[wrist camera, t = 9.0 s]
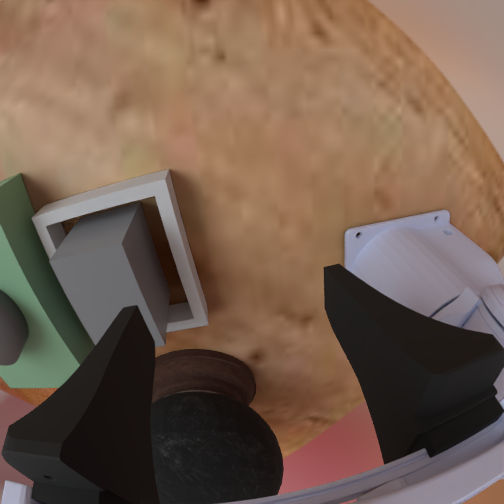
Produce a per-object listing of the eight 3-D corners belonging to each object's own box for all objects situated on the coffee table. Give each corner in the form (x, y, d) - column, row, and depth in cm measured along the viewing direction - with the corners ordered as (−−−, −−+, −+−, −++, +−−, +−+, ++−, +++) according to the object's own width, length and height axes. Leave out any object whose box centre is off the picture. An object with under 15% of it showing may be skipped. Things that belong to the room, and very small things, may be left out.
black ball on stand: (285, 395, 31) (320, 526, 18) (181, 430, 33) (188, 548, 20) (220, 318, 25) (245, 512, 12) (100, 371, 26) (77, 521, 13)
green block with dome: (158, 126, 17) (138, 146, 12) (215, 332, 25) (220, 392, 20) (-59, 212, 16) (-102, 249, 11) (23, 357, 24) (4, 404, 19)
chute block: (140, 201, 19) (121, 243, 14) (170, 290, 23) (165, 345, 18) (80, 217, 19) (49, 261, 14) (116, 300, 23) (101, 354, 18)
